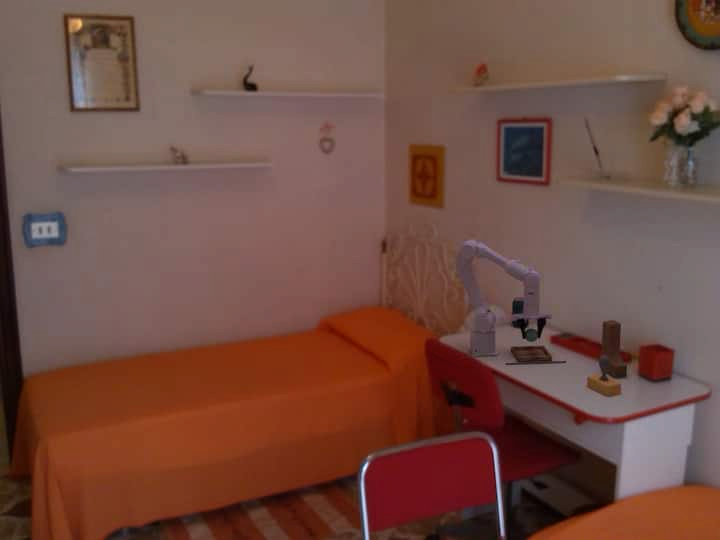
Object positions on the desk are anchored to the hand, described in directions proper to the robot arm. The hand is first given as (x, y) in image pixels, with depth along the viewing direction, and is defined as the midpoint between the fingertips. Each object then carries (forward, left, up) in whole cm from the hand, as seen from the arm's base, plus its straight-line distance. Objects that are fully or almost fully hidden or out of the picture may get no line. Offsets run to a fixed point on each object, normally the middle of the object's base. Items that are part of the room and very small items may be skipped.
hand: (531, 338), depth 264 cm
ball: (0, 0, +1) cm, 1 cm away
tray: (0, 0, -7) cm, 7 cm away
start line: (0, -8, -7) cm, 11 cm away
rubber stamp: (+16, -34, -7) cm, 39 cm away
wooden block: (+24, -20, -7) cm, 32 cm away
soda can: (+4, +38, -7) cm, 38 cm away
